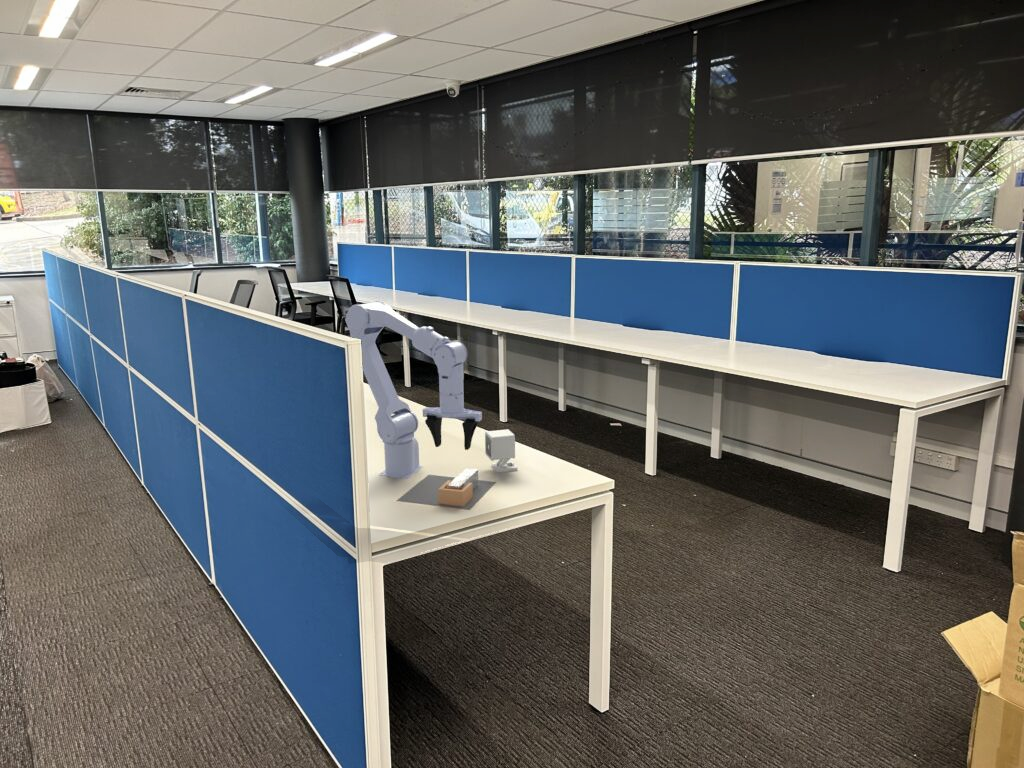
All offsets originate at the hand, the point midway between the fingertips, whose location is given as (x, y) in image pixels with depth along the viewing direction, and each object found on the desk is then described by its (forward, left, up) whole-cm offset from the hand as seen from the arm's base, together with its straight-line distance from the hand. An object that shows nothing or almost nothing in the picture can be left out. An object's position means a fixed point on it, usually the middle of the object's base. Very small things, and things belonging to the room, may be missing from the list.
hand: (452, 447), depth 179 cm
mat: (+6, +1, -9) cm, 11 cm away
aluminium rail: (+6, +5, -9) cm, 12 cm away
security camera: (-13, +8, -10) cm, 18 cm away
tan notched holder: (+11, +5, -9) cm, 15 cm away
